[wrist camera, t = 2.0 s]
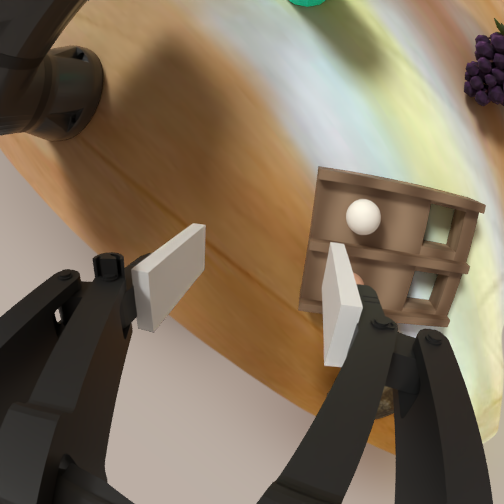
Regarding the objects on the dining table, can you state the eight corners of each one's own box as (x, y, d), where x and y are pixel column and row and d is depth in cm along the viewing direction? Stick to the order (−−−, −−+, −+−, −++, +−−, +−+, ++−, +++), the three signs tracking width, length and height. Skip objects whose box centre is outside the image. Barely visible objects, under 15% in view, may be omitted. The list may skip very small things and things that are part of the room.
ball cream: (341, 226, 31) (345, 236, 27) (346, 193, 29) (351, 199, 26) (373, 231, 30) (380, 242, 27) (379, 199, 29) (387, 206, 26)
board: (299, 293, 38) (298, 310, 34) (318, 166, 32) (319, 169, 28) (437, 310, 35) (447, 327, 31) (469, 198, 29) (485, 205, 25)
